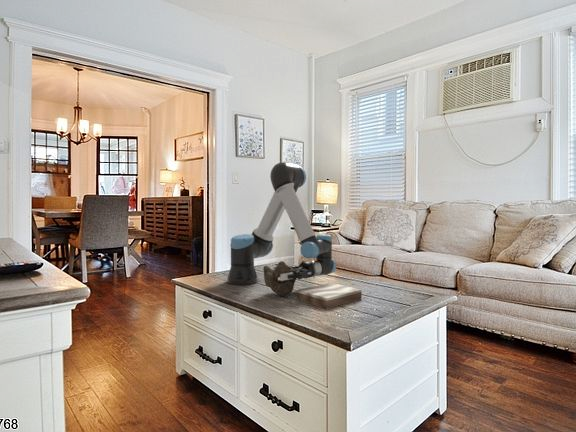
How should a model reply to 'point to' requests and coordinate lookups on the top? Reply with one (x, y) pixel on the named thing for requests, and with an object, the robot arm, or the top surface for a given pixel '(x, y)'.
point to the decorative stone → (276, 285)
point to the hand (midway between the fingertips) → (272, 275)
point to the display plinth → (329, 295)
